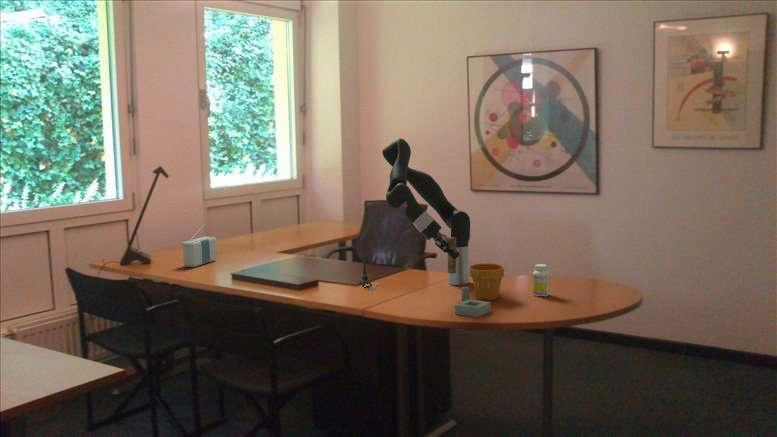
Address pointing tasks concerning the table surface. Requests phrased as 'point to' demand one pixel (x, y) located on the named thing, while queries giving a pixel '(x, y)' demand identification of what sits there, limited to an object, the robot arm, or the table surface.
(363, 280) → the eiffel tower figurine
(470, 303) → the hole block
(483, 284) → the flower pot
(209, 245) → the stereo radio cassette player
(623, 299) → the table surface
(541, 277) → the supplement bottle
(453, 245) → the walnut peg
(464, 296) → the short grey peg
